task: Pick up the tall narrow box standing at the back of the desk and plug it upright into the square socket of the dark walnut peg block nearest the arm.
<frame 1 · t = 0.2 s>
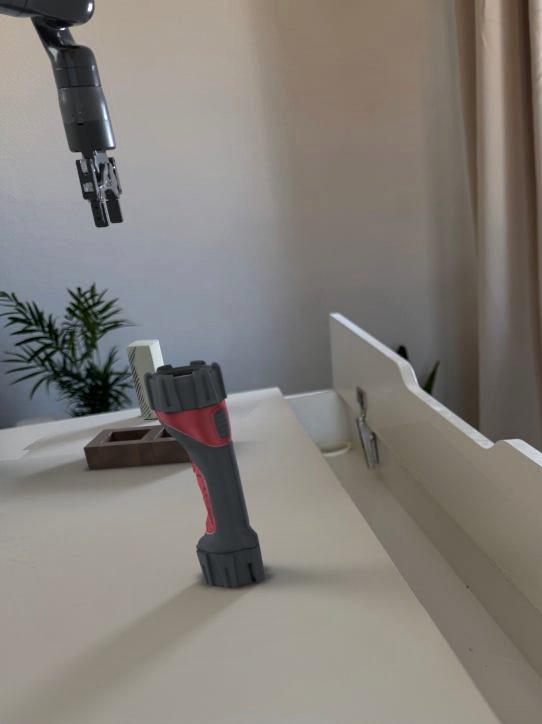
hand: (110, 225, 169), 31 cm above the table, tool pointing down, fingers open, 8 cm apart
socket block: (158, 459, 150), on the table
flashlight: (227, 582, 106), on the table
box: (158, 416, 175), on the table
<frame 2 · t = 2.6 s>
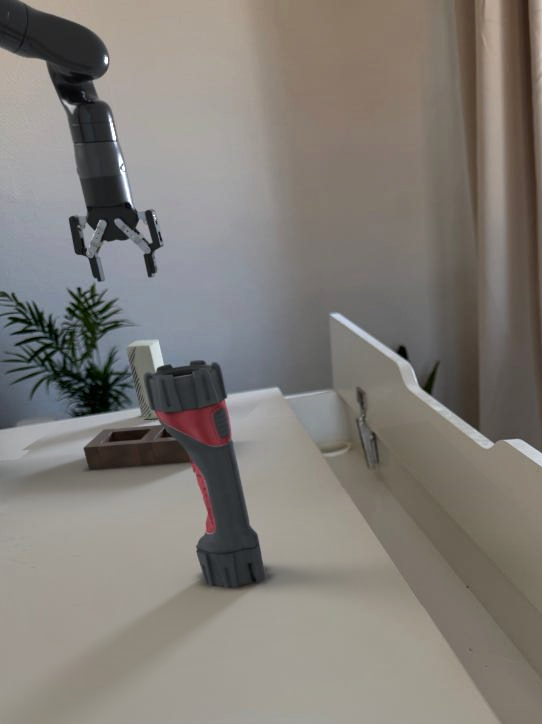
hand: (126, 279, 166), 23 cm above the table, tool pointing down, fingers open, 8 cm apart
nothing on the table moved.
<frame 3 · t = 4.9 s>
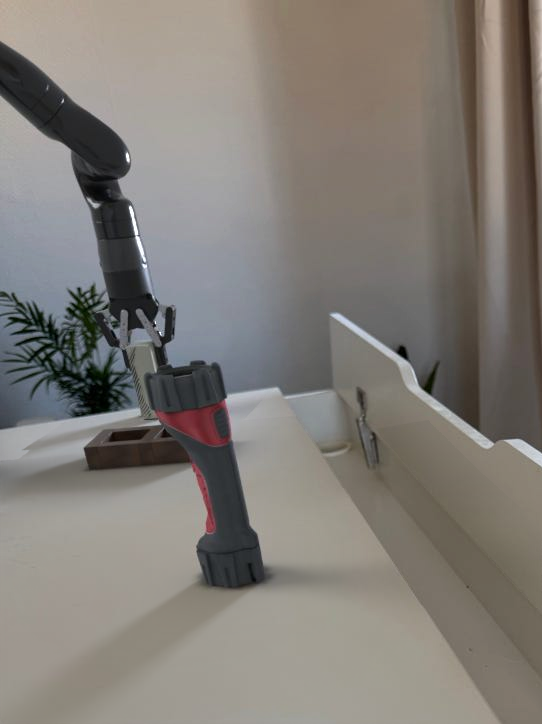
hand: (147, 368, 171), 8 cm above the table, tool pointing down, fingers closed on box, 4 cm apart
box: (158, 416, 175), on the table, touching gripper
everything else where it was.
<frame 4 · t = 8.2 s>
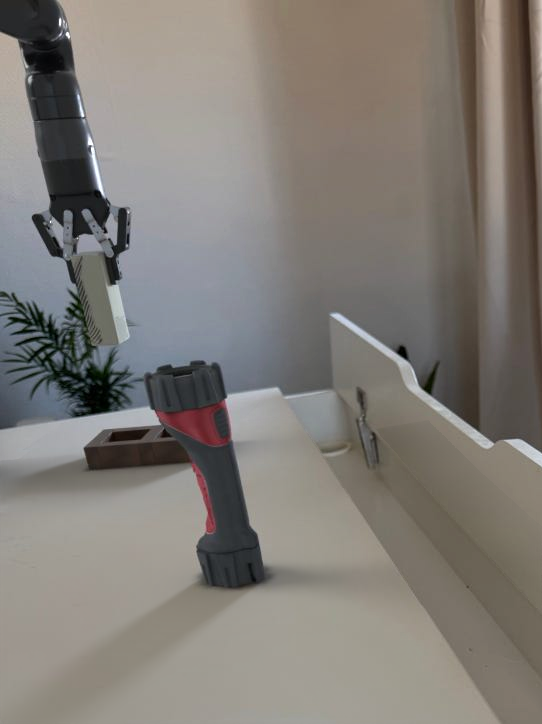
hand: (98, 285, 144), 25 cm above the table, tool pointing down, fingers closed on box, 4 cm apart
box: (111, 344, 148), point 17 cm above the table, touching gripper
everything else where it was.
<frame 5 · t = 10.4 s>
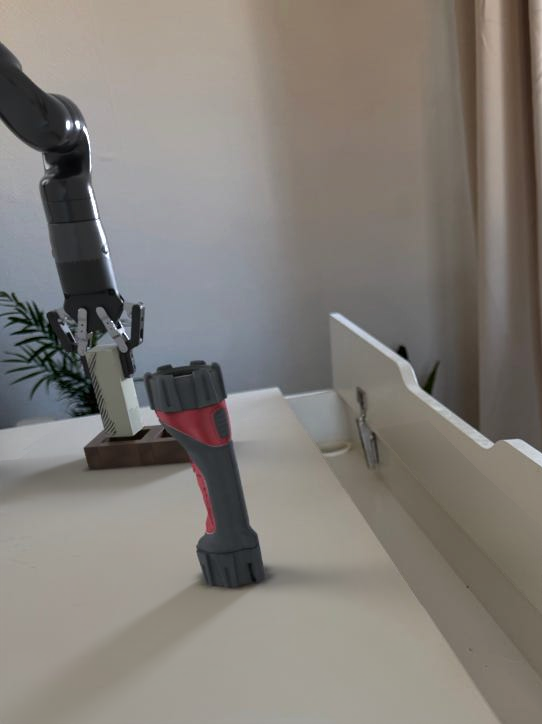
hand: (112, 378, 144), 13 cm above the table, tool pointing down, fingers closed on box, 4 cm apart
box: (125, 434, 148), point 4 cm above the table, touching gripper
everything else where it was.
when the fingers open (8 cm above the table, at t = 12.0 s): box stays where it is, resting in socket block.
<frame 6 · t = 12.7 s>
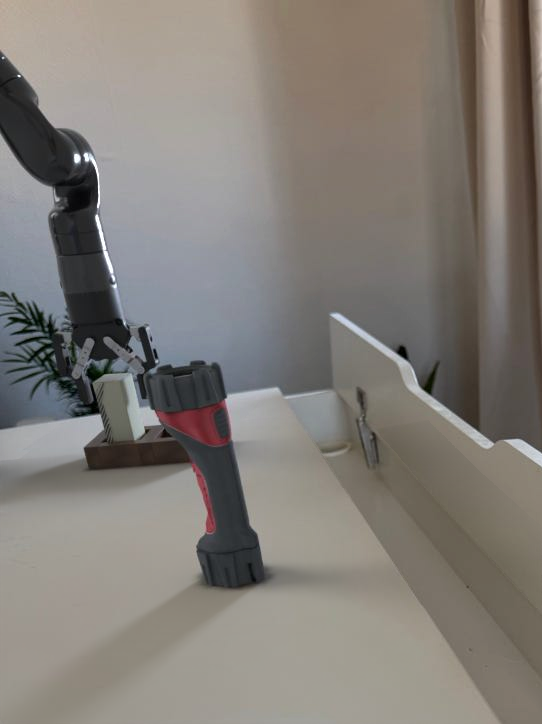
hand: (117, 400, 146), 9 cm above the table, tool pointing down, fingers open, 8 cm apart
box: (132, 462, 150), resting in socket block
everything else where it was.
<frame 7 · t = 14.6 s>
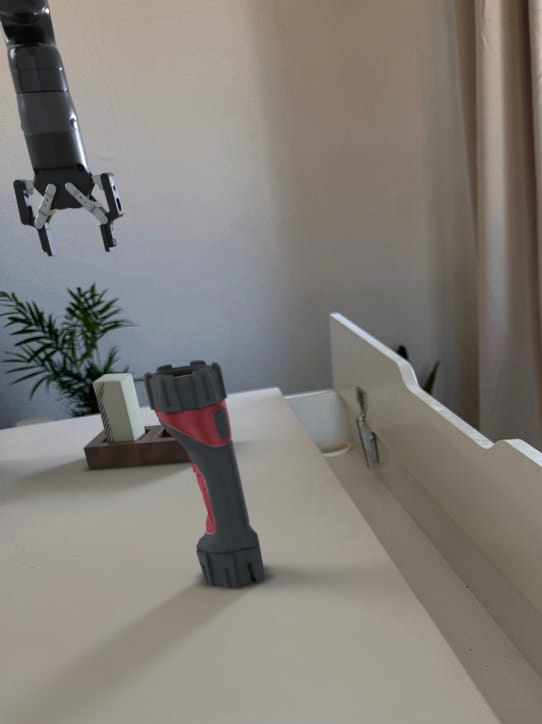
hand: (81, 253, 144), 29 cm above the table, tool pointing down, fingers open, 8 cm apart
nothing on the table moved.
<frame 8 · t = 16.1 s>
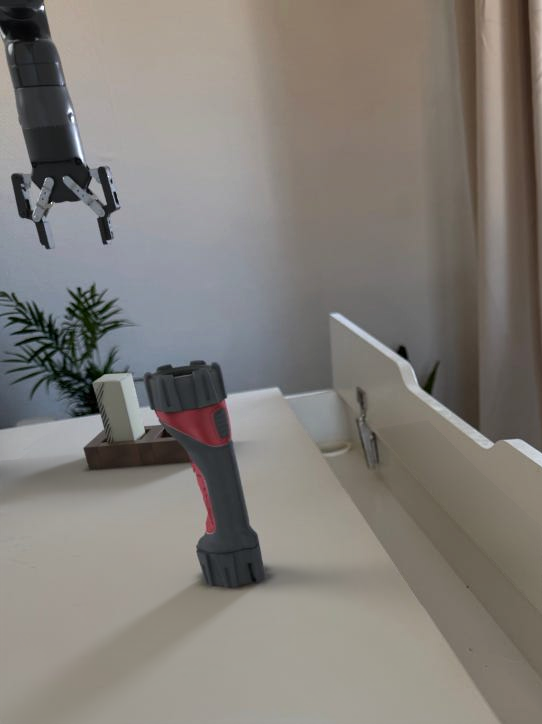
hand: (78, 246, 146), 30 cm above the table, tool pointing down, fingers open, 8 cm apart
nothing on the table moved.
at the end: box 0.1 cm from the target spot in the socket block, point 0.0 cm above the socket block's base; box tilted 0°; the gripper is holding nothing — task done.
